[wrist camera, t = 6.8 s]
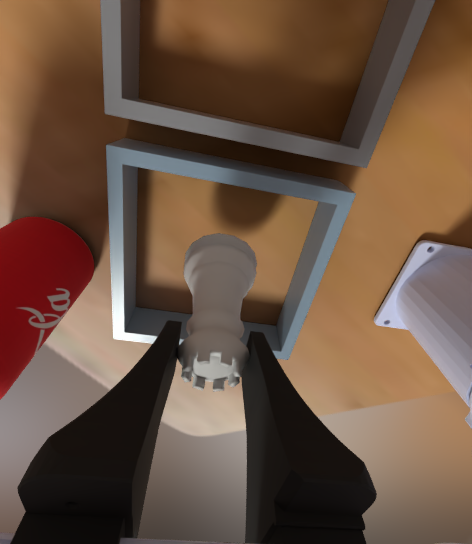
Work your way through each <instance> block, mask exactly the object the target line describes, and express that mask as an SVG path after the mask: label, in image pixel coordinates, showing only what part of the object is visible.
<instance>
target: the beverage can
mask: <svg viewBox="0 0 472 544" xmlns="http://www.w3.org/2000/svg"><path fill="white" fill-rule="evenodd" d="M93 273H94V260H93V257H92V254H91V252H90V250H89V248H88V246H87V245H86V243H85V242H84V241H83V239H82V238H81V237H80V236H79V235H78V234H76V233H75V232H74V231H73V230H71V229H70V228H68V227H67V226H65V225H63V224H61V223H59V222H57V221H54V220H51V219H48V218H43V217H24V218H20V219H17V220H15V221H13V222H11V223H9V224H8V225H6V226H4V227H3V228H1V229H0V399H1V398H2V397H3V396H4V395H5V394H6V393H7V391H8V390H9V389H10V387H11V386H12V385H13V383H14V382H15V381H16V379H17V378H18V377H19V375H20V374H21V372H22V371H23V370H24V369H25V367H26V366H27V365H28V363H29V362H30V361H31V359H32V358H33V357H34V355H35V354H36V352H37V351H38V350H39V349H40V347H41V346H42V345H43V343H44V342H45V341H46V339H47V338H48V337H49V335H50V334H51V333H52V331H53V330H54V329H55V327H56V326H57V325H58V323H59V322H60V321H61V319H62V318H63V317H64V315H65V314H66V313H67V311H68V310H69V309H70V307H71V306H72V305H73V303H74V302H75V301H76V299H77V298H78V297H79V295H80V294H81V293H82V291H83V290H84V289H85V287H86V286H87V285H88V283H89V282H90V281H91V279H92V277H93Z"/></svg>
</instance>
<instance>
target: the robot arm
mask: <svg viewBox="0 0 472 544" xmlns="http://www.w3.org/2000/svg"><path fill="white" fill-rule="evenodd" d="M429 247H431V248H430V249H429V250H427V249H428V248H429ZM386 320H387V321H386ZM374 322H375V324H376V325H378V326H385V327H392V328H400V329H407V330H409V331H410V332H411V333H412V335H413V336H414V337H415V338H416V340H417V341H418V342H419V344H420V345H421V346H422V347H423V349H424V350H425V351H426V353H427V354H428V355H429V356H430V358H431V359H432V360H433V362H434V363H435V364H436V365H437V367H438V368H439V369H440V371H441V372H442V373H443V374H444V376H445V377H446V378H447V380H448V381H449V382H450V383H451V385H452V386H453V387H454V389H455V390H456V391H457V392H458V394H459V395H460V396H461V398H462V399H463V400H464V401H465V403H466V404H467V405H468V407H469V408H470V412H469V414H468V416H467V417H466V418H465V420H466V422H467V423H468V425H469V426H470V427H471V428H472V249H471V248H466V247H460V246H455V245H449V244H444V243H438V242H433V241H427V240H422V241H420V242H418V243H417V244H416V246H415V247H414V249H413V251H412V253H411V254H410V256H409V258H408V260H407V261H406V263H405V265H404V267H403V269H402V270H401V272H400V274H399V276H398V277H397V279H396V281H395V283H394V284H393V286H392V288H391V290H390V291H389V293H388V295H387V297H386V298H385V300H384V302H383V304H382V305H381V307H380V309H379V311H378V312H377V314H376V316H375V318H374ZM181 326H182V322H179V321H171V320H168V321H167V322H166V323H165V325H164V327H163V329H162V331H161V332H160V334H159V335H158V337H157V338H156V340H155V341H154V343H153V344H152V345H151V347H150V348H149V349H148V351H147V352H146V353H145V354H144V356H143V357H142V358H141V359H140V360H139V362H138V363H137V364H136V365H135V366H134V367H133V368H132V369H131V371H130V372H129V373H128V374H127V375H126V376H125V377H124V378H123V379H122V380H121V381H120V382H119V383H118V384H117V385H116V386H115V387H113V388H112V389H111V390H110V391H109V392H108V393H107V394H106V395H105V396H104V397H102V398H101V399H100V400H99V401H98V402H97V403H95V404H94V405H93V406H91V407H90V408H89V409H88V410H86V411H85V412H84V413H82V414H81V415H80V416H79V417H77V418H76V419H75V420H73V421H72V422H70V423H69V424H67V425H66V426H64V427H63V428H62V429H60V430H59V431H57V432H56V433H54V434H53V435H51V436H50V437H49V438H48V439H47V440H46V442H45V443H44V444H43V446H42V447H41V448H40V450H39V451H38V453H37V454H36V456H35V457H34V459H33V460H32V462H31V463H30V465H29V467H28V469H27V471H26V473H25V475H24V476H23V478H22V480H21V482H20V484H19V486H18V494H19V496H20V499H21V501H22V503H23V506H24V508H25V510H26V512H25V514H24V516H23V519H22V521H21V523H20V525H19V527H18V529H17V531H16V533H4V532H0V544H366V541H365V538H364V534H363V531H362V530H364V529H365V524H364V521H363V518H362V514H363V513H364V512H365V511H366V510H367V509H368V508H369V507H370V506H371V505H372V504H373V503H374V501H375V499H376V495H377V494H376V490H375V488H374V485H373V482H372V480H371V477H370V475H369V472H368V471H367V468H366V466H365V464H364V462H363V461H362V460H361V459H359V458H358V457H357V456H356V455H355V454H354V453H353V452H352V451H350V450H349V449H348V448H347V447H346V446H345V445H344V444H343V443H341V442H340V441H339V440H338V439H337V438H336V437H335V436H334V435H333V434H332V433H331V432H330V431H329V430H328V429H327V427H326V426H325V425H324V424H323V423H322V422H321V421H320V420H319V419H318V417H317V416H316V415H315V414H314V413H313V412H312V411H311V409H310V408H309V407H308V406H307V404H306V403H305V402H304V400H303V399H302V398H301V397H300V395H299V394H298V392H297V391H296V390H295V388H294V387H293V385H292V384H291V382H290V381H289V379H288V377H287V376H286V374H285V373H284V371H283V369H282V367H281V366H280V364H279V362H278V361H277V359H276V357H275V355H274V353H273V351H272V349H271V347H270V345H269V343H268V341H267V339H266V337H265V335H264V333H263V332H255V331H250V335H249V338H248V342H247V345H246V347H247V348H248V351H249V354H250V358H249V361H248V363H247V365H246V366H245V367H244V368H243V369H242V389H243V400H244V410H245V420H246V432H247V499H246V534H245V543H228V542H206V541H205V542H204V541H182V540H159V539H138V538H137V536H138V531H139V525H140V520H141V515H142V510H143V504H144V499H145V494H146V489H147V484H148V479H149V474H150V469H151V464H152V459H153V454H154V449H155V443H156V438H157V434H158V429H159V425H160V421H161V417H162V414H163V410H164V407H165V404H166V400H167V397H168V393H169V390H170V386H171V383H172V380H173V376H174V372H175V367H176V362H177V357H176V353H177V347H178V346H179V342H180V334H181ZM436 544H462V543H436Z"/></svg>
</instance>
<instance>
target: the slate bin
mask: <svg viewBox="0 0 472 544" xmlns="http://www.w3.org/2000/svg"><path fill="white" fill-rule="evenodd" d="M106 158H107V184H108V211H109V237H110V263H111V289H112V315H113V339H119V340H127V341H135V342H144V343H152V344H153V343H154V341H155V340H156V338H157V337H158V335H159V334H160V332H161V331H162V329H163V327H164V325H165V323H166V322H167V321H168V320H171V321H179V322H182V326H181V334H180V342H179V345H180V344H181V343H182V341H183V340H185V339H186V338H187V337H188V336H189V334H188V332H187V330H186V326H187V321H188V320H189V319H190V318H191V316H192V314H184V313H177V312H169V311H162V310H154V309H147V308H139V307H136V253H137V185H138V167H140V168H145V169H151V170H156V171H161V172H167V173H172V174H177V175H182V176H188V177H193V178H198V179H204V180H209V181H214V182H219V183H225V184H230V185H235V186H241V187H246V188H251V189H256V190H262V191H267V192H272V193H278V194H283V195H288V196H293V197H299V198H304V199H309V200H315V201H319V203H318V206H317V209H316V212H315V215H314V218H313V220H312V223H311V226H310V229H309V232H308V235H307V238H306V241H305V244H304V246H303V249H302V252H301V255H300V258H299V261H298V264H297V267H296V269H295V272H294V275H293V278H292V281H291V284H290V287H289V290H288V293H287V295H286V298H285V301H284V304H283V307H282V310H281V313H280V316H279V318H278V321H277V324H276V326H274V325H266V324H259V323H251V322H244V321H242V322H243V325H244V329H245V330H244V333H243V336H242V337H241V338H240V341H241V342H242V343H243V344H244V345H245V346H246V345H247V342H248V338H249V335H250V331H255V332H263V333H264V335H265V337H266V339H267V341H268V343H269V345H270V347H271V349H272V351H273V353H274V355H275V357H276V359H285V360H288V359H289V357H290V354H291V352H292V350H293V347H294V345H295V342H296V340H297V337H298V335H299V332H300V330H301V327H302V325H303V323H304V320H305V318H306V315H307V313H308V310H309V308H310V305H311V303H312V301H313V298H314V296H315V293H316V291H317V288H318V286H319V283H320V281H321V279H322V276H323V274H324V271H325V269H326V266H327V264H328V261H329V259H330V257H331V254H332V252H333V249H334V247H335V244H336V242H337V239H338V237H339V234H340V232H341V230H342V227H343V225H344V222H345V220H346V217H347V215H348V212H349V210H350V208H351V205H352V203H353V200H354V198H355V195H356V193H355V192H353V191H352V190H351V189H349V188H348V187H347V186H345V185H344V184H343V183H341V182H340V181H338V180H333V179H328V178H323V177H318V176H313V175H308V174H303V173H298V172H293V171H288V170H283V169H278V168H273V167H268V166H263V165H258V164H253V163H248V162H243V161H238V160H233V159H228V158H223V157H218V156H213V155H208V154H203V153H198V152H193V151H188V150H183V149H178V148H173V147H168V146H163V145H158V144H152V143H147V142H142V141H137V140H132V139H127V138H123V139H120V140H118V141H115V142H112V143H109V144H107V145H106Z"/></svg>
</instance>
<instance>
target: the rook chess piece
mask: <svg viewBox="0 0 472 544" xmlns="http://www.w3.org/2000/svg"><path fill="white" fill-rule="evenodd" d="M256 266H257V262H256V257H255V253H254V251H253V250H252V249H251V248H250V246H249V245H248V244H247V243H246V242H244V241H242V240H241V239H239V238H237V237H235V236H232V235H226V234H220V233H218V234H212V235H207V236H203V237H202V238H200V239H198V240H197V241H195V242H193V243H192V244H191V246H190V247H189V249H188V250H187V252H186V255H185V264H184V278H185V280H186V282H187V285H188V287H189V289H190V291H191V293H192V295H193V315H192V316H191V318H190V319H189V320H188V321H187V326H186V330H187V332H188V334H189V336H188V337H187V338H186V339H185V340H183V341H182V343H181V344H180V345H179V346H178V347H177V353H176V357H177V359H178V360H179V362H180V364H181V365H182V375H181V377H182V379H183V380H184V382H189V381H191V377H194V379H193V388H196V389H199V390H203V389H204V385H205V381H210V382H213V392H214V391H224V381H226V380H228V379H229V381H228V385H229V386H231V387H234V386H236V385H237V384H238V383H239V377H242V369H243V368H244V367H245V366H246V365H247V363H248V361H249V358H250V354H249V351H248V348H247V347H246V346H245V345H244V344H243V343H242V342H241V341H240V338H241V337H242V336H243V333H244V330H245V329H244V325H243V322H242V321H241V320H240V313H241V307H242V301H243V298H244V297H245V296H246V295H247V293H248V291H249V290H250V289H251V288H252V286H253V283H254V280H255V276H256Z"/></svg>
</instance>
